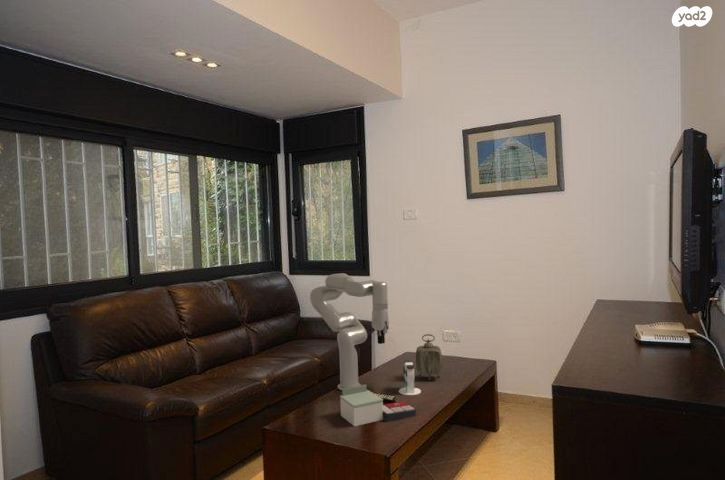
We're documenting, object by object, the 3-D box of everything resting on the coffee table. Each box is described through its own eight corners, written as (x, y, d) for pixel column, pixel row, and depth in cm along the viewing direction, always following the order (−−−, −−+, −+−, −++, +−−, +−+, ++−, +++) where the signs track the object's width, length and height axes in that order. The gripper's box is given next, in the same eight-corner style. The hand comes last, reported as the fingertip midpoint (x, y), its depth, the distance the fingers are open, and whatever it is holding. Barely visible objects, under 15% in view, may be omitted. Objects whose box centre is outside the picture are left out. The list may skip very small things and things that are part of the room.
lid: (339, 397, 217) (339, 389, 217) (367, 391, 224) (367, 384, 224) (353, 407, 204) (353, 398, 204) (383, 401, 211) (382, 392, 211)
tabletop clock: (442, 376, 270) (440, 332, 269) (443, 381, 261) (442, 336, 260) (416, 376, 271) (415, 332, 271) (416, 381, 262) (415, 336, 262)
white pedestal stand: (397, 388, 253) (396, 359, 252) (418, 387, 254) (417, 358, 253) (400, 395, 241) (399, 366, 240) (422, 394, 242) (422, 365, 241)
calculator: (416, 408, 215) (386, 412, 208) (416, 417, 215) (386, 422, 208) (404, 400, 225) (375, 404, 218) (403, 409, 225) (375, 414, 218)
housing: (340, 415, 217) (340, 398, 217) (368, 409, 224) (367, 392, 224) (354, 426, 205) (353, 407, 205) (382, 419, 211) (382, 401, 211)
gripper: (366, 305, 244) (367, 341, 244) (380, 309, 231) (382, 347, 231) (379, 304, 247) (380, 339, 248) (394, 307, 234) (395, 345, 234)
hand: (381, 343), depth 239 cm, fingers closed
